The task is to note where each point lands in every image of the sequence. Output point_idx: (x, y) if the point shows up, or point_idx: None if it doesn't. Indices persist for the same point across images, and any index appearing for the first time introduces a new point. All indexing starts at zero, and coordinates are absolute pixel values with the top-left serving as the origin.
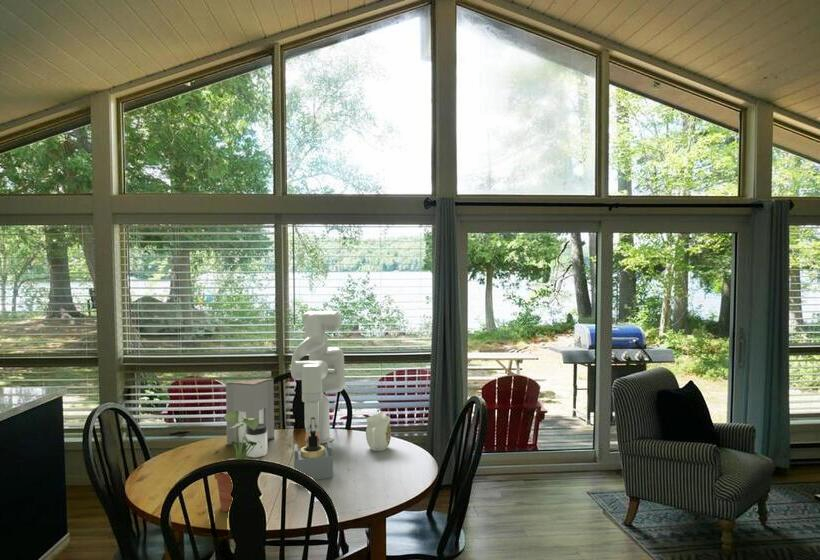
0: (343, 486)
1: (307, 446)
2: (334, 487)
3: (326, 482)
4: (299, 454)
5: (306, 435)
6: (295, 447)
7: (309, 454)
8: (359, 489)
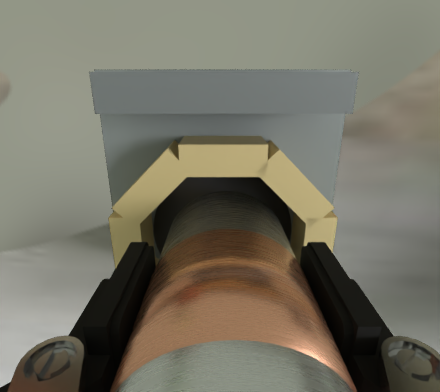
0: (53, 295)
1: (184, 224)
2: (45, 262)
3: (108, 234)
4: (237, 123)
5: (182, 296)
6: (222, 86)
7: (114, 215)
8: (18, 343)
